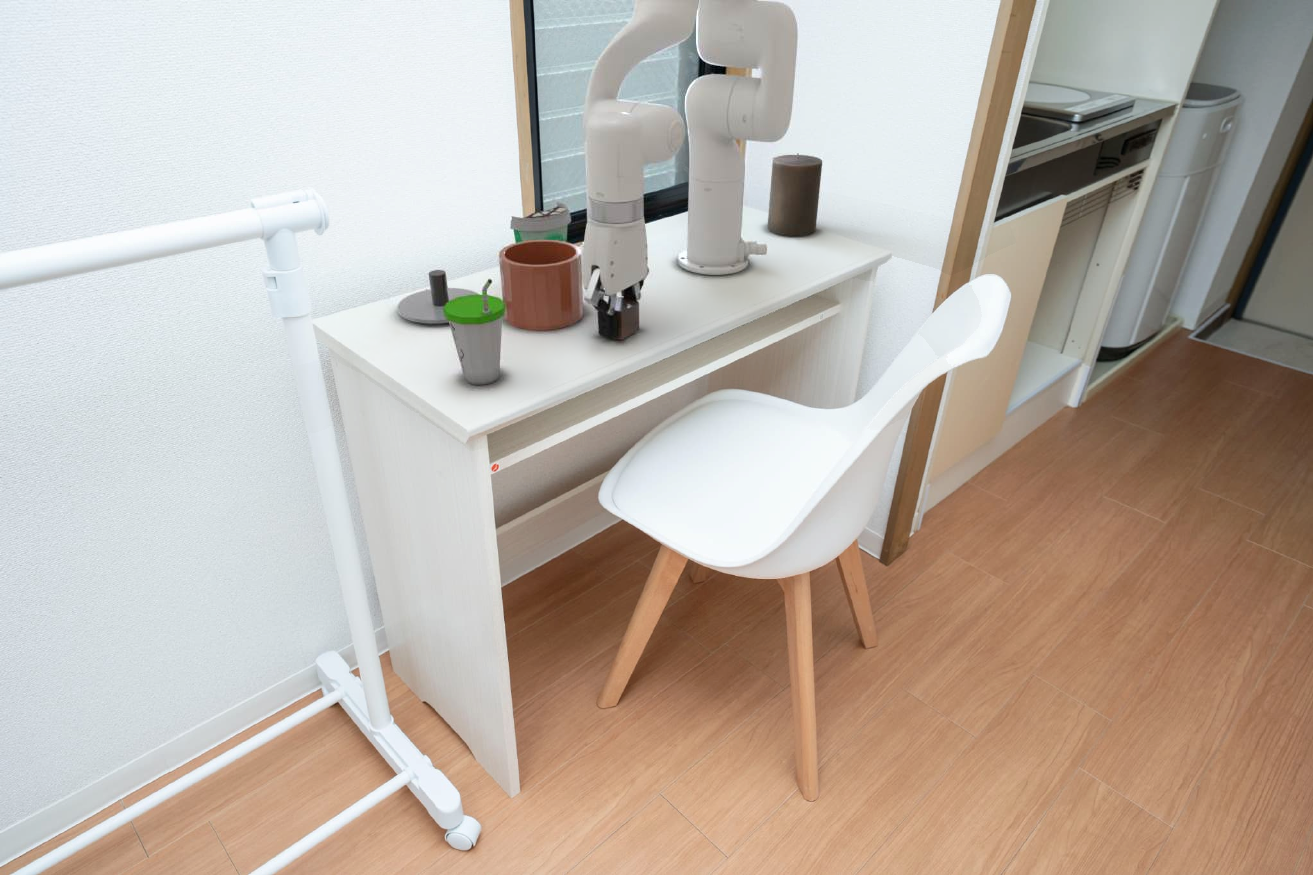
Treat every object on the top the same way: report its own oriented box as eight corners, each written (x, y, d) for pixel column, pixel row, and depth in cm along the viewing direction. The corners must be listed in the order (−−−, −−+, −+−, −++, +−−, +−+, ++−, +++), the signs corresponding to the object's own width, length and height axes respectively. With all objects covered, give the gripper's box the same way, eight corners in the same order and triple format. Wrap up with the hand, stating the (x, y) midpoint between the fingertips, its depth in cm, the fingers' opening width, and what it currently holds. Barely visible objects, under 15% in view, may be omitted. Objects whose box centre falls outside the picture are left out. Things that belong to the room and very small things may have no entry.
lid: (487, 293, 139) (483, 257, 136) (481, 325, 128) (477, 287, 125) (405, 295, 138) (399, 259, 135) (392, 328, 127) (385, 289, 124)
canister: (582, 298, 138) (579, 238, 133) (584, 329, 128) (581, 265, 122) (506, 300, 137) (501, 240, 132) (502, 331, 126) (496, 267, 121)
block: (615, 323, 129) (615, 295, 126) (639, 330, 127) (639, 302, 124) (598, 333, 126) (597, 305, 123) (622, 340, 123) (621, 312, 121)
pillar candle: (813, 238, 166) (822, 160, 158) (763, 234, 168) (769, 156, 160) (817, 224, 174) (825, 148, 166) (769, 220, 176) (775, 145, 168)
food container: (539, 281, 144) (535, 223, 139) (513, 273, 148) (509, 216, 142) (587, 262, 153) (585, 207, 148) (562, 255, 156) (559, 201, 151)
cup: (451, 367, 116) (438, 262, 108) (509, 362, 118) (499, 258, 110) (453, 393, 110) (438, 284, 102) (514, 387, 111) (504, 279, 103)
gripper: (630, 190, 124) (631, 306, 134) (555, 219, 112) (563, 344, 122) (672, 198, 121) (671, 317, 130) (600, 229, 109) (604, 357, 118)
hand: (618, 329), depth 126 cm, fingers closed on block, 4 cm apart
